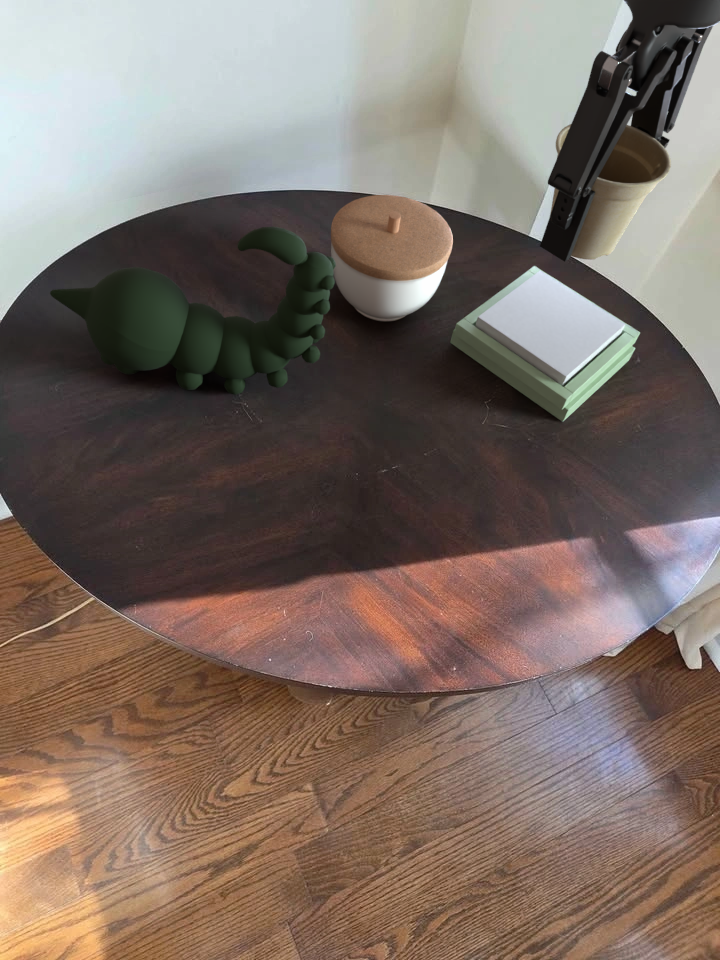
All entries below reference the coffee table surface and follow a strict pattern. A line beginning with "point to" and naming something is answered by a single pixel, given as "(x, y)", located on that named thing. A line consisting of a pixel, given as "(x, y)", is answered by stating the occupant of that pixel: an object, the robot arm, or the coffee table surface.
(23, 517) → the coffee table surface
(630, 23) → the robot arm
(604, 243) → the flower pot
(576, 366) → the pan
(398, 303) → the lidded bowl
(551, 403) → the scale
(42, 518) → the coffee table surface
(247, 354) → the toy figurine
